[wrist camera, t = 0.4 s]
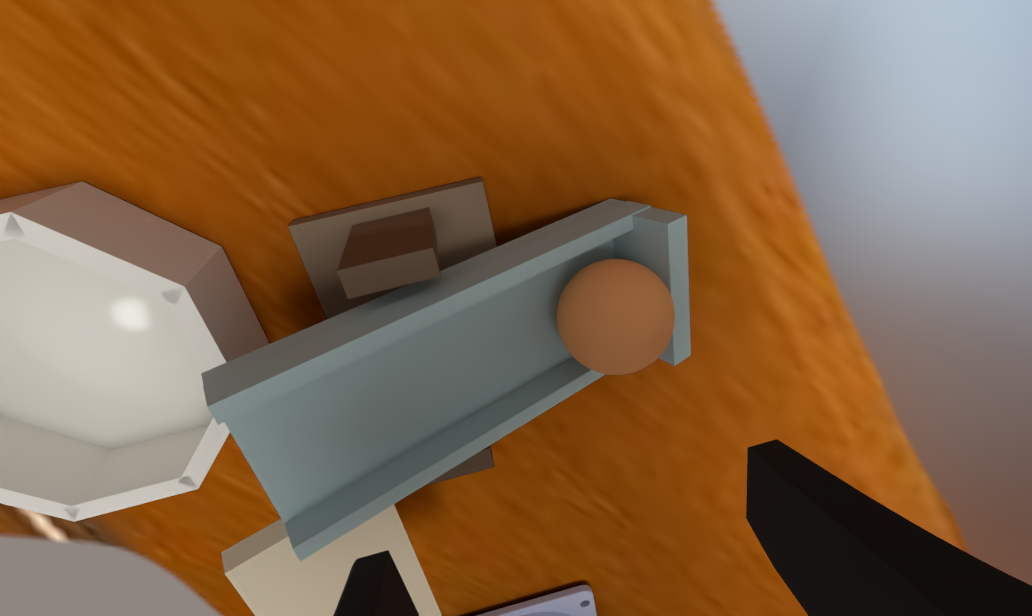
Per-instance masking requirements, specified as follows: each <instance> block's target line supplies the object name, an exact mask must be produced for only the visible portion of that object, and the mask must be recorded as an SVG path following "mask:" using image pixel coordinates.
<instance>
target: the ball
mask: <svg viewBox="0 0 1032 616" xmlns="http://www.w3.org/2000/svg"><path fill="white" fill-rule="evenodd" d="M674 324H675V311H674V305H673V301H672V297H671V295H670V293H669V291H668V289H667V287H666V286H665V284H664V283H663V282H662V280H661V279H660V278H659V277H658V276H657V275H656V274H655V273H654V272H652V271H651V270H650V269H648V268H647V267H645V266H643V265H641V264H639V263H636V262H633V261H630V260H624V259H607V260H602V261H598V262H595V263H592V264H590V265H588V266H586V267H584V268H583V269H582V270H580V271H579V272H578V273H577V274H575V275H574V276H573V277H572V278H571V280H570V281H569V282H568V283H567V285H566V286H565V288H564V290H563V292H562V294H561V296H560V299H559V302H558V308H557V326H558V331H559V334H560V337H561V339H562V342H563V344H564V345H565V347H566V349H567V350H568V351H569V353H570V354H571V355H572V356H573V357H574V358H575V359H576V360H577V361H578V362H579V363H581V364H582V365H584V366H585V367H587V368H589V369H591V370H594V371H596V372H599V373H603V374H609V375H623V374H629V373H633V372H636V371H638V370H641V369H643V368H645V367H647V366H648V365H650V364H651V363H653V362H654V361H655V360H656V359H657V358H658V357H659V356H660V355H661V354H662V353H663V351H664V350H665V348H666V347H667V345H668V343H669V341H670V339H671V336H672V333H673V329H674Z"/></svg>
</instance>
